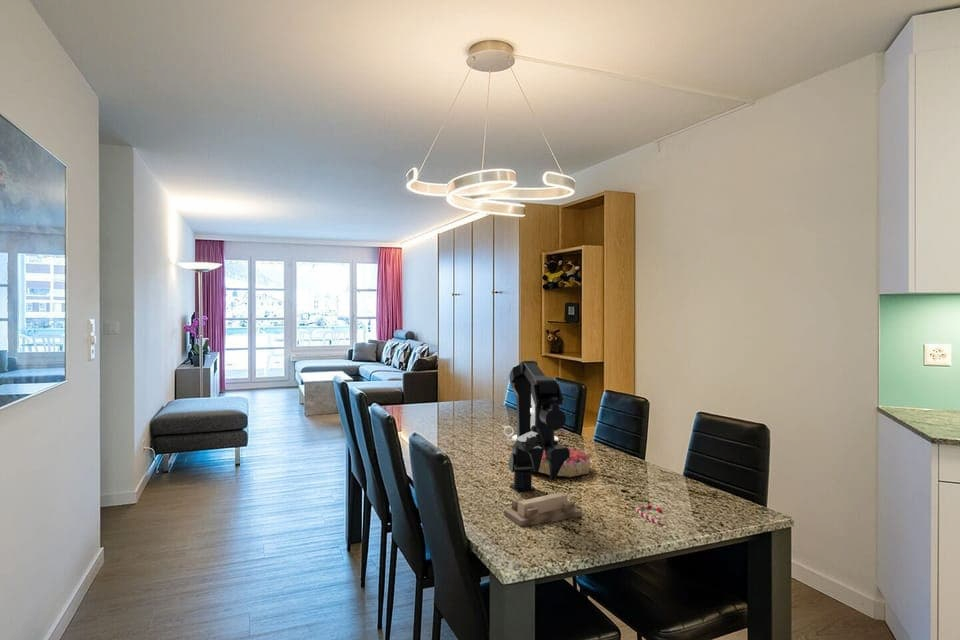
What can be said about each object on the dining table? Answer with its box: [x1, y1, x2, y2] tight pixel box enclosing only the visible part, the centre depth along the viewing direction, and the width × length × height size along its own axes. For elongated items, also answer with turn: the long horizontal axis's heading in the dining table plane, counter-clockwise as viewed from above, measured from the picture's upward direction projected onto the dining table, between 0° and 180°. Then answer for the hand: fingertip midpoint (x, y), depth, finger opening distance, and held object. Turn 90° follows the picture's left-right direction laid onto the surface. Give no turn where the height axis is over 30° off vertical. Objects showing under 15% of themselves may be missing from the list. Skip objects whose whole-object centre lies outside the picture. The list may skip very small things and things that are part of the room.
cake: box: [537, 447, 591, 479], centre depth 215 cm, size 25×25×8 cm
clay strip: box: [518, 491, 568, 517], centre depth 166 cm, size 16×3×4 cm, turn 123°
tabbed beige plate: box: [503, 493, 583, 527], centre depth 166 cm, size 20×10×4 cm, turn 114°
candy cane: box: [635, 504, 663, 527], centre depth 166 cm, size 8×1×15 cm
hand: (544, 476), depth 167 cm, fingers open, 9 cm apart
